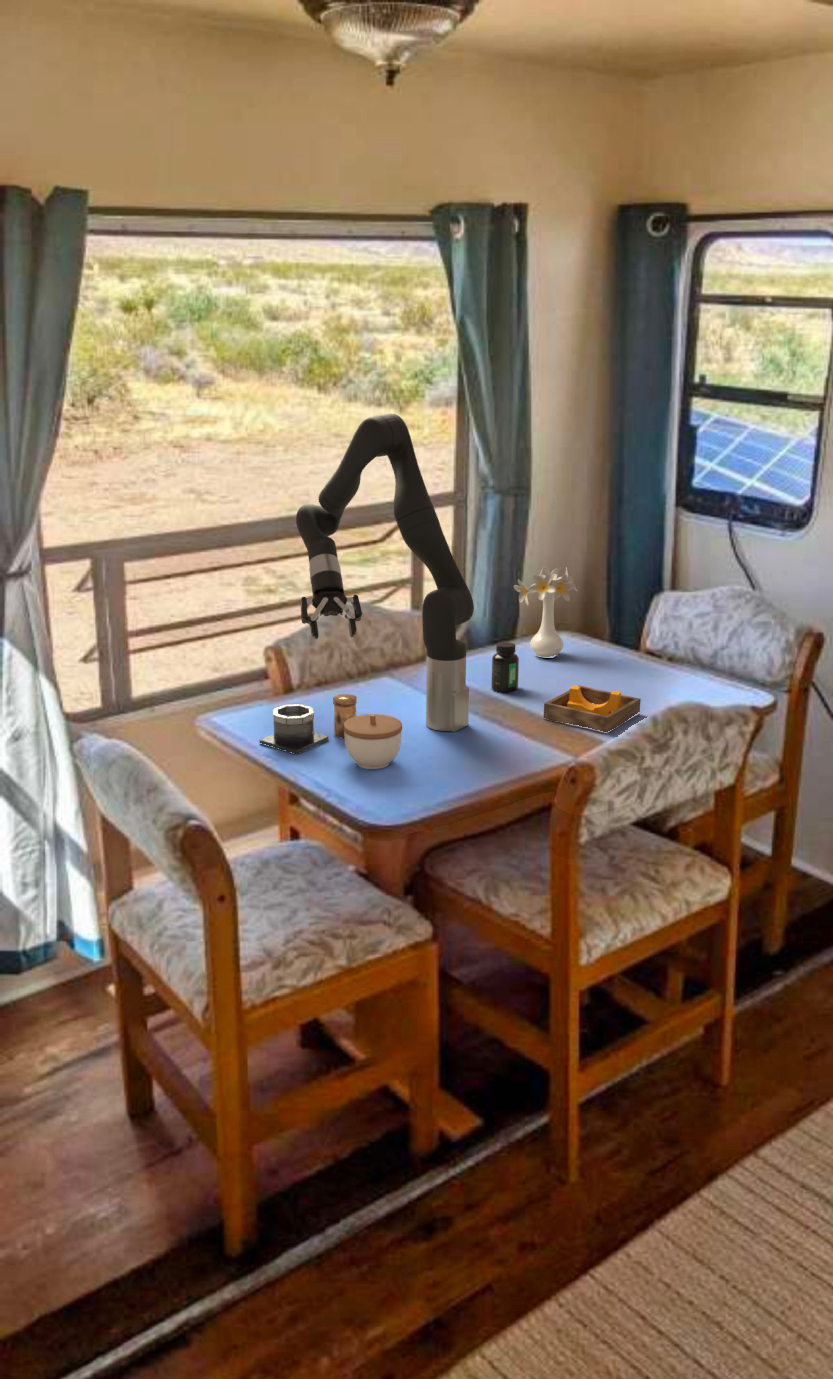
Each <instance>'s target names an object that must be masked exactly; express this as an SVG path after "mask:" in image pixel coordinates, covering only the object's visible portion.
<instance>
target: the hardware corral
mask: <svg viewBox="0 0 833 1379" xmlns="http://www.w3.org/2000/svg"><path fill="white" fill-rule="evenodd" d="M579 686H580V690H581V693H582V695H583V697H584V698H585V699H586V700H587V701H588V702H590V703H594V704H598V705H599V704H604V703H606V702H607V701H609V698H610V694H611V693H612V692H613V691H611V692H610V691H606V690H602V689H599V688H598V689H597V688H592V687H586V686H583V685H579ZM569 693H570V689H569V690H567V691H565V692H563V693H561V694H560V695H557V696H555V697H553V698H551V699H549V700H548V701H546V702H545V703H543V704H544V705H543V718H546V719H549V720H552V721H551V722H554V721H558V722H561V723H560V724H562V722H563V723H569V724H573V725H579V726H582V727H588V728H592V729H595V730H600V731H603V732H608V731H610V730H612V729H614V728H616V727H617V726H619V725H621V724H622V723H624V722H625V721H627V720H628V719H629V718H631V717H632V716H634V715H635V714H637V713H638V712H640V713H641V703H642V702H641V699H642V698H638V697H635V696H629V695H624V694H621V700H620V708H619V709H617V710H615V711H614V712H613V711H611V712H612V713H610V714H608V715H607V716H604V715H600V714H595V713H591V712H587V711H582V710H578V709H574V708H569V707H567V703H568V702H569ZM549 720H548V721H549ZM558 722H557V723H558ZM624 724H625V723H624ZM621 726H622V725H621ZM616 729H617V728H616Z"/></svg>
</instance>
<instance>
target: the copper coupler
mask: <svg viewBox="0 0 833 1379" xmlns="http://www.w3.org/2000/svg"><path fill="white" fill-rule="evenodd" d="M332 703H333V704H332V705H333V713H334V716H333V717H334V722H333V724H334V728H333V729H334V730H333V731H334V736H335V737H337V738H342V739H345V736H344V723H345V721H346V720H348V719H350V718H352V717H355V716H357V703H358V701H357V696H356V695H355V694H350V693H340V694H336V695H333V697H332Z"/></svg>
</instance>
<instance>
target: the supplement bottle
mask: <svg viewBox="0 0 833 1379" xmlns="http://www.w3.org/2000/svg"><path fill="white" fill-rule="evenodd" d="M495 646H496V648H495V652H496V653H495V654H493V656H492V659H491V689H492V691H494V692H496V691H497V693H499V692H501V694H510V693H509V692H512V693H514V691H515V692H516V691H517V690H519V689H518V688H519V673H520V672H519V668H520V667H519V664H520V663H519V662H520V660H519V659H520V658H519V656H518V654H516V644H515V643H514V642H510V641H509V642H508V641H501V642H498V643H496V645H495Z"/></svg>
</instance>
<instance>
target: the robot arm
mask: <svg viewBox="0 0 833 1379" xmlns="http://www.w3.org/2000/svg"><path fill="white" fill-rule="evenodd" d="M411 438H412V437H411V435H410V432H409V428H408V426H407V424H406V422H405V421H404V420H403V418H402V417H401V416H399V415H398V414H396V413H384V414H377V415H373V416H372V415H371V416H368V417H366V418H364V419H363V420H362V421H361V422H360V423H359V424H358V427H357V428H356V430H355V432H354V434H353V436H352V438H351V441H350V442H349V445H348V446H347V448H346V451H345V453H344V455H343V457H342V459H341V461H340V463H339V465H338V467H337V468H336V470H335V472H334V473H333V474H332V476H331V477H330V478H329V479H328V481H327V482H326V484H325V486H324V487H323V488H322V489H321V491H320V492H319V494H318V502H319V505H317V504H316V505H315V504H313V503H312V504H311V503H305V504H303V505H301V506H300V507H299V508H298V510H297V512H296V515H295V524H296V527H297V531H298V533H299V535H300V537H301V539H302V542H303V544H304V546H305V547H306V550H307V555H308V562H309V563H308V565H309V569H308V570H309V580H310V584H311V592H312V598H307V597H306V596H302V597H301V599H300V618H301V624H304V625H305V624H307V625H308V626H309V627H310V628H309V629H310V634H311V636H312V637H314V639H315V640H318V639H319V627H318V621H319V619H320V618H321V616H324V617H329V616H333V617H337V616H338V615H339V616H340V617H342V619H344V620H346V622H348V630H349V637H350V638H354V636H355V635H356V634H357V623H356V622H360V621H361V620H362V616H363V611H362V607H361V603H360V599H359V598H360V597H359V595H358V594H353V596H348V597H347V596H346V594H345V589H344V583H343V577H342V576H343V575H342V570H341V565H340V563H339V558H338V551H337V545H336V542H335V540H334V539H333V538H332V537H330V536H332V535H334V534H335V533H337V531H338V530H339V529H338V528H339V526H340V523H341V519H342V516H343V514H344V512H345V509H346V507H347V506H348V505H349V504H350V502H351V501H352V500H353V499H354V497H355V495H356V494H357V493H358V490H359V489H360V484H361V477H362V473H363V470H364V469H365V468H366V467H367V465H368V464H369V463H371V462H372V461H373V460H374V459H376V458H378V457H386V456H387V458H388V461H389V463H390V465H391V468H392V471H393V475H394V478H395V479H394V480H395V486H394V487H395V489H394V497H393V516H394V519H395V522H396V524H397V527H398V529H399V532H400V534H401V537H402V539H403V541H404V544H405V545H406V546H407V547H408V548H409V550H410V551H411V552H412V553H413V554H414V555H415V556H416V557H417V558H418V559H419V560H420V561H421V562H422V563H423V564H424V565H425V567H426V568H427V569H428V571H429V572H430V574H431V576H432V579H433V580H434V583H435V586H436V589H434V590H432V591H430V592H428V593H427V594H426V596H425V597H424V599H423V601H422V608H421V609H422V610H421V611H422V612H421V618H422V621H421V622H422V639H423V640H422V641H423V643H424V646H425V649H426V676H425V677H426V681H425V682H426V684H425V685H426V690H425V692H426V693H425V694H426V696H425V699H426V701H425V708H426V709H425V725H426V727H427V728H430V729H431V730H434V731H438V732H439V731H441V732H453V733H454V732H457V731H459V730H461V729H462V728H463V729H464V727H467V726H469V720H470V718H469V716H470V715H469V713H470V712H469V711H470V687H469V686H467V685H466V682H467V681H466V680H467V678H466V676H467V675H466V674H467V673H466V672H467V644H466V643H465V642H464V641H462V640H461V639H457V635H456V633H457V631H456V626H459V625H462V624H465V623H466V622H468V621H469V620H470V619H472V616H473V615H474V611H475V609H474V606H475V605H474V599H473V597H472V593H471V592H470V591H471V590H470V589H469V586H468V585H467V583H466V582H465V579H464V577H463V575H462V573H461V571H460V569H459V567H458V566H457V563H456V561H455V559H454V555H453V553H452V552H451V549H450V547H449V544H448V542H447V539H446V537H445V534H444V532H443V528H442V525H441V523H440V520H439V517H438V514H437V512H436V509H435V507H434V504H433V502H432V499H431V498H430V495H429V492H428V490H427V486H426V484H425V482H424V479H423V476H422V473H421V469H420V466H419V463H418V460H417V456H416V452H415V449H414V444H413V441H412V439H411ZM347 604H349V605H350V606H351V607H352V608H353V613H352V611H350V608H349V607H348V606H347ZM311 605H312V606H313V608H314V609H315V610H314V612H313V613H312V615H311V616H309V614H308V609H310V606H311Z"/></svg>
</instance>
